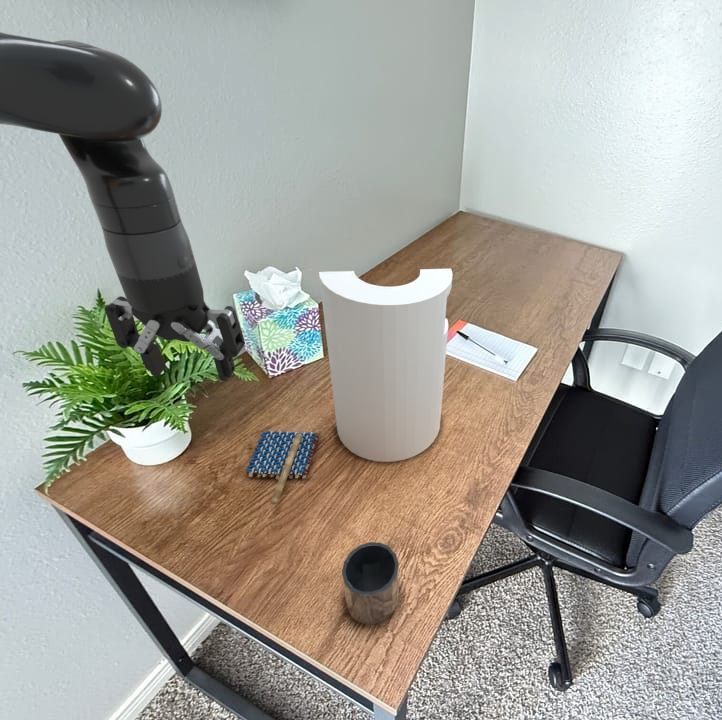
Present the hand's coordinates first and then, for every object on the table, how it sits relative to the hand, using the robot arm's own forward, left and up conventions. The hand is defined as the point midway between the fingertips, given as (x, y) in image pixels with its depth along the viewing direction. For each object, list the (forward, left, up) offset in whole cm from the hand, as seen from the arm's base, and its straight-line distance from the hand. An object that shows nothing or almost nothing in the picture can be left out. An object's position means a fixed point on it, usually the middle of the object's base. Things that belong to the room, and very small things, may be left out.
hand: (193, 374), depth 61 cm
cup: (-15, -25, -28) cm, 41 cm away
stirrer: (+5, -7, -25) cm, 27 cm away
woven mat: (+10, -5, -28) cm, 30 cm away
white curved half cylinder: (+16, -24, -28) cm, 40 cm away
